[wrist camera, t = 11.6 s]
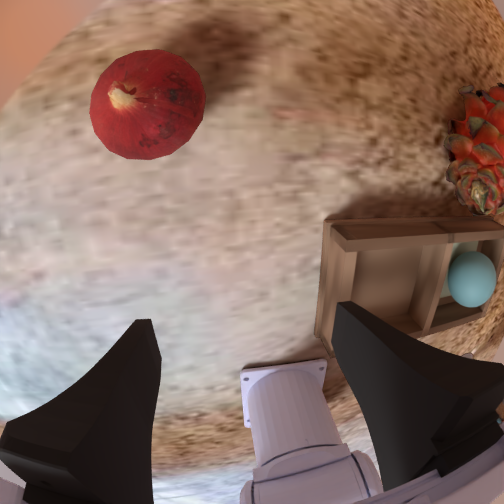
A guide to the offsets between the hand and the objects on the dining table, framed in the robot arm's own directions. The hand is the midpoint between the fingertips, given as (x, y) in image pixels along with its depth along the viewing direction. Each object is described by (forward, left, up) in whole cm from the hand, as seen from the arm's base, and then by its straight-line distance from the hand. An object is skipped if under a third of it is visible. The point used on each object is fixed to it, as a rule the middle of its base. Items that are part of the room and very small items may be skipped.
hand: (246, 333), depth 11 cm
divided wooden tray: (-4, -16, -10) cm, 19 cm away
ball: (-4, -21, -7) cm, 22 cm away
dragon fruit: (+8, -20, -10) cm, 23 cm away
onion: (+9, +4, -10) cm, 14 cm away
